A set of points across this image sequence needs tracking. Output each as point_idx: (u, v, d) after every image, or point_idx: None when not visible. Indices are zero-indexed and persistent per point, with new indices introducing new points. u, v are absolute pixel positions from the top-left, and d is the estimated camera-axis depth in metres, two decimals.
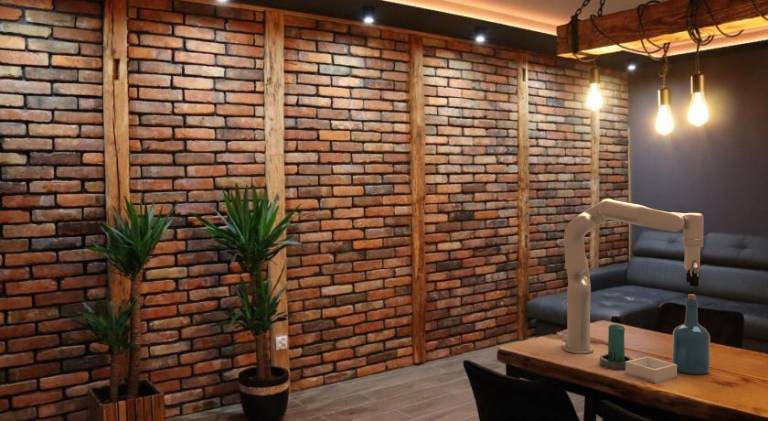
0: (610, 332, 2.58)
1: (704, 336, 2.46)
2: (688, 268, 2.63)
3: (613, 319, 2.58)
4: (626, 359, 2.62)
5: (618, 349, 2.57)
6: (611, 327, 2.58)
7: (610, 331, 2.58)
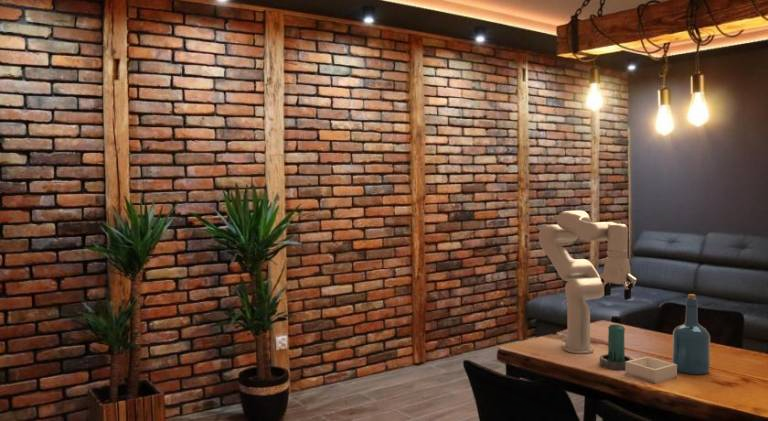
0: (610, 332, 2.58)
1: (704, 336, 2.46)
2: (624, 281, 2.53)
3: (613, 319, 2.58)
4: (626, 359, 2.62)
5: (618, 349, 2.57)
6: (611, 327, 2.58)
7: (610, 331, 2.58)
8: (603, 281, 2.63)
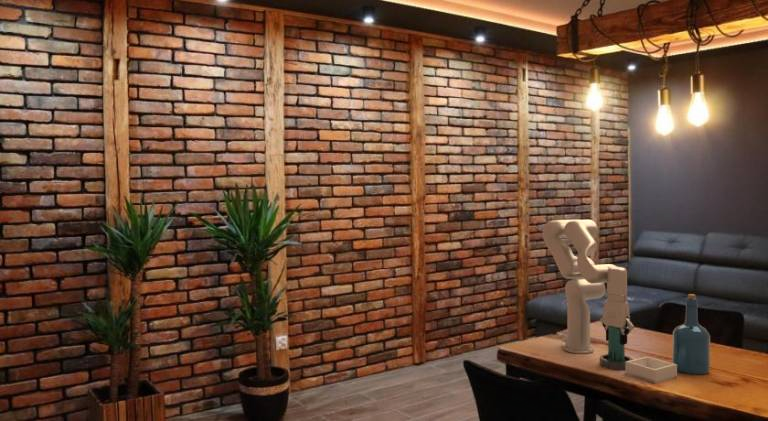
0: (610, 332, 2.58)
1: (704, 336, 2.46)
2: (623, 325, 2.54)
3: None
4: (626, 359, 2.62)
5: (618, 349, 2.57)
6: (611, 327, 2.58)
7: (610, 331, 2.58)
8: (605, 326, 2.63)
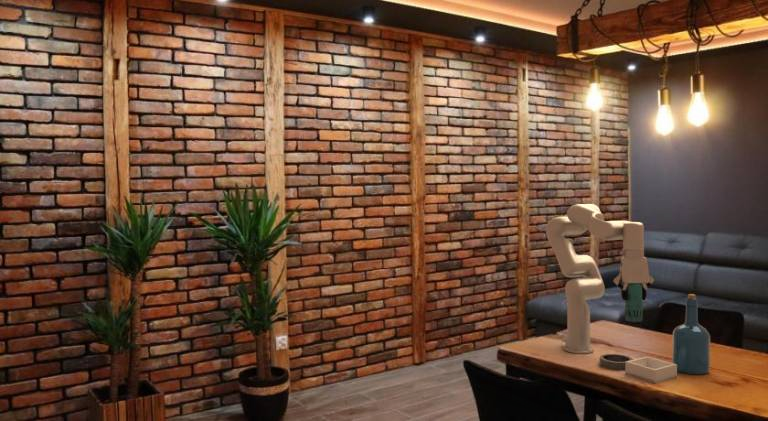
0: (635, 290, 2.48)
1: (704, 336, 2.46)
2: (648, 279, 2.49)
3: None
4: (626, 359, 2.62)
5: None
6: (635, 284, 2.49)
7: (635, 288, 2.48)
8: (622, 285, 2.51)
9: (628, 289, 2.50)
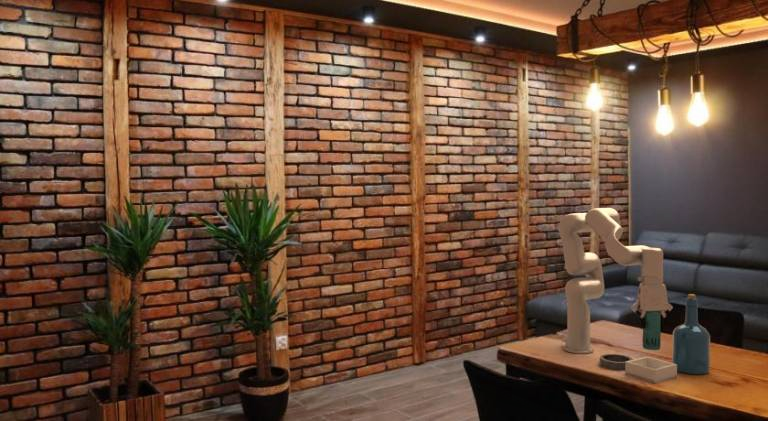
0: (654, 317, 2.42)
1: (704, 336, 2.46)
2: (667, 307, 2.43)
3: None
4: (626, 359, 2.62)
5: (660, 333, 2.44)
6: (654, 312, 2.42)
7: (653, 316, 2.42)
8: (639, 313, 2.44)
9: (646, 316, 2.44)
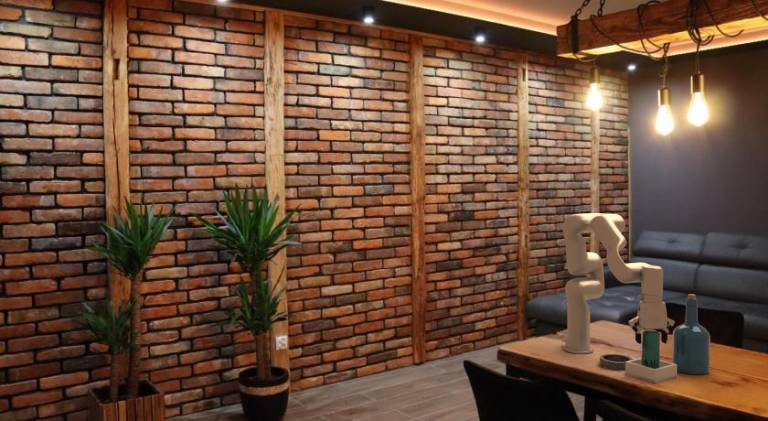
0: (653, 339, 2.43)
1: (704, 336, 2.46)
2: (666, 325, 2.43)
3: None
4: (626, 359, 2.62)
5: (659, 354, 2.44)
6: (653, 334, 2.43)
7: (653, 338, 2.43)
8: (636, 328, 2.45)
9: (645, 338, 2.44)
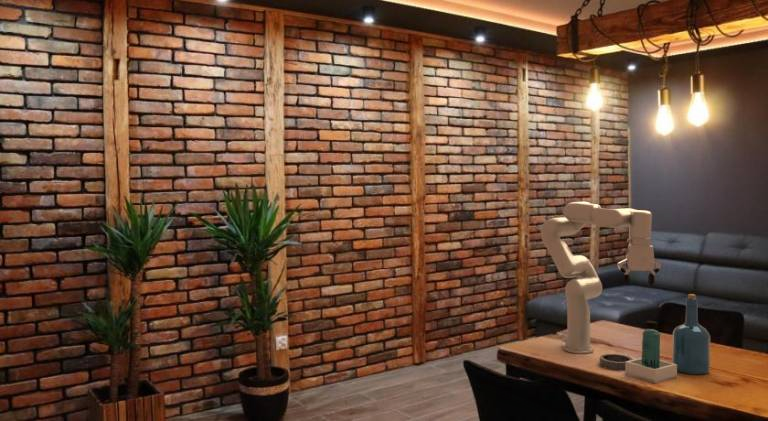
0: (653, 339, 2.43)
1: (704, 336, 2.46)
2: (653, 267, 2.54)
3: (654, 325, 2.44)
4: (626, 359, 2.62)
5: (659, 354, 2.44)
6: (653, 334, 2.43)
7: (653, 338, 2.43)
8: (624, 270, 2.56)
9: (645, 338, 2.44)
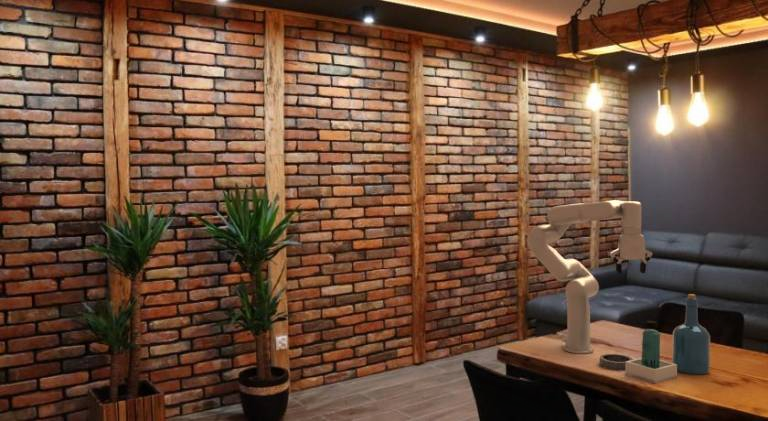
0: (653, 339, 2.43)
1: (704, 336, 2.46)
2: None
3: (653, 325, 2.44)
4: (626, 359, 2.62)
5: (659, 354, 2.45)
6: (653, 333, 2.43)
7: (653, 338, 2.43)
8: (616, 259, 2.64)
9: (645, 338, 2.44)
